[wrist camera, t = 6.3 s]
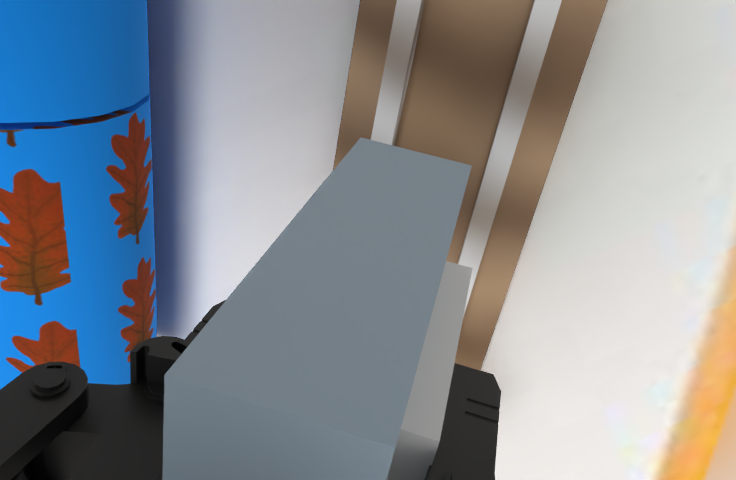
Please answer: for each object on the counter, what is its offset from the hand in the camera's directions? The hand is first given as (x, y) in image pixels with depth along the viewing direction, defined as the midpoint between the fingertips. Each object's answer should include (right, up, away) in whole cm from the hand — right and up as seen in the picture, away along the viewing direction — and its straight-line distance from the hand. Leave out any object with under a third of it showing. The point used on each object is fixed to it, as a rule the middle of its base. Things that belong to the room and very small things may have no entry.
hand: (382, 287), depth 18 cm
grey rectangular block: (0, 0, 0) cm, 1 cm away
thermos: (-18, -7, +19) cm, 27 cm away
